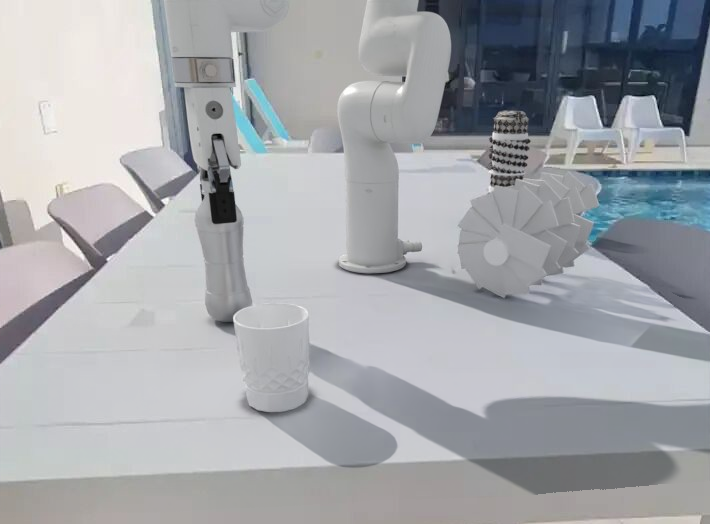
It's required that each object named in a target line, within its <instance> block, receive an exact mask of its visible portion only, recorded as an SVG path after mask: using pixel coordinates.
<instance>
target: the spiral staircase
mask: <svg viewBox="0 0 710 524" xmlns="http://www.w3.org/2000/svg"><path fill="white" fill-rule="evenodd" d="M488 193H489V192H488ZM488 193H485V194H483V195H481V196H478V197H475V198H472V199H470V200H469V201H470V205H471V207H470V208H469V210H468V211H467V212H466V213H465V214H464V216H463V217H462V219H461V220H460V221H459V222H458V224H457V227H459V229H460V230H459V237H458V238H459V239H458V244H457V254H458V256H459V261H460V268H461V269H462V270H465V271H466V272H467V274H468V275H469V277H470V278H471V279H472V281H473V282H474V284H475V285H476V287H477V288H478V289H479V290H481V289H483V288H484V289H486V290H488V291H490V292H492V293H493V294H495V295H497V296H499V297H502V298H503V299H505V298H506V296H507V295H529V294H530V293H531V292H530V291H531V290H530V286H543V279H544V278H546V277H550V276H555V275H561V274H564V273H565V270H564V268H575V260H576V259H577V258H579V257H580V256H582V255H583V254H585V253H586V252H587V251H588V250H590V249H591V247H590V245H589V244H588V240H589V238H590V235H591V233H592V230H593V228H594V225H595V222H594V221H592V220H590V219H587V218H585V217H583V216H580V215H578V214H581V213H583V212H586V211H590V210H592V209H595V208H598V207H600V206H601V205H600V203H599V202H600V201H599V199H598V197H597V194H596V189H595V187H594V184H593V183H590V184H587V185H585V184H584V183H583V182H582V181H581V180H580V179H578V178H577V177H576V176H575V175H574V174H573V173H571V171H569V170H568V171H566V172H565V173H564V175H562V174H561V175H560V174H556V173H555V174H554V173H549V172H543V171H542V172H540V178H539V177H538V178H536V179H533V178H525V177H523V180H520V179H516V181H515V185H512V186H508V187H502V186H497V185H495V186H494V191H491V193H489V194H488Z"/></svg>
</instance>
